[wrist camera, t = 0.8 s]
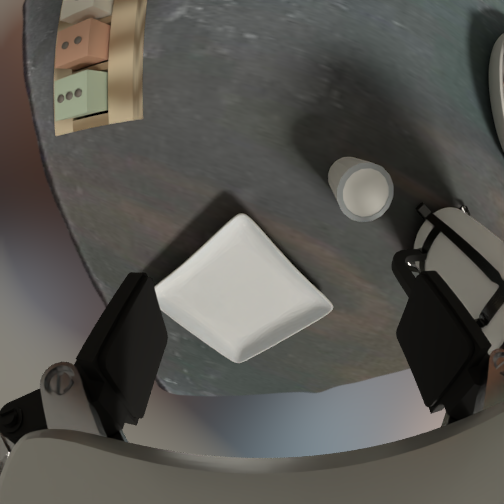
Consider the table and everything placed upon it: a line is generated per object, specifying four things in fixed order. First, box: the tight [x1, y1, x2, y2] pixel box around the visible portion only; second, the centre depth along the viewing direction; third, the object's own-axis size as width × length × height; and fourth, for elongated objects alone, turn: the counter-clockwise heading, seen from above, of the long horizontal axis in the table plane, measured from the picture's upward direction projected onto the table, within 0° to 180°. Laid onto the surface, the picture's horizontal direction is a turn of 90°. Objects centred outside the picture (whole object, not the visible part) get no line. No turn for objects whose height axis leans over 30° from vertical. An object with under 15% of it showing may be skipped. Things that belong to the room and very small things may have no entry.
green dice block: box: [54, 70, 108, 121], centre depth 24 cm, size 5×5×5 cm
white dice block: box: [60, 0, 114, 25], centre depth 17 cm, size 5×5×5 cm
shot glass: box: [328, 157, 394, 222], centre depth 30 cm, size 7×7×7 cm
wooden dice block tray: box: [54, 0, 147, 136], centre depth 23 cm, size 23×13×3 cm, turn 179°
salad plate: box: [154, 213, 333, 363], centre depth 41 cm, size 21×21×3 cm
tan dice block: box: [55, 18, 111, 70], centre depth 20 cm, size 5×5×5 cm
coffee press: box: [392, 203, 504, 355], centre depth 24 cm, size 17×16×30 cm
